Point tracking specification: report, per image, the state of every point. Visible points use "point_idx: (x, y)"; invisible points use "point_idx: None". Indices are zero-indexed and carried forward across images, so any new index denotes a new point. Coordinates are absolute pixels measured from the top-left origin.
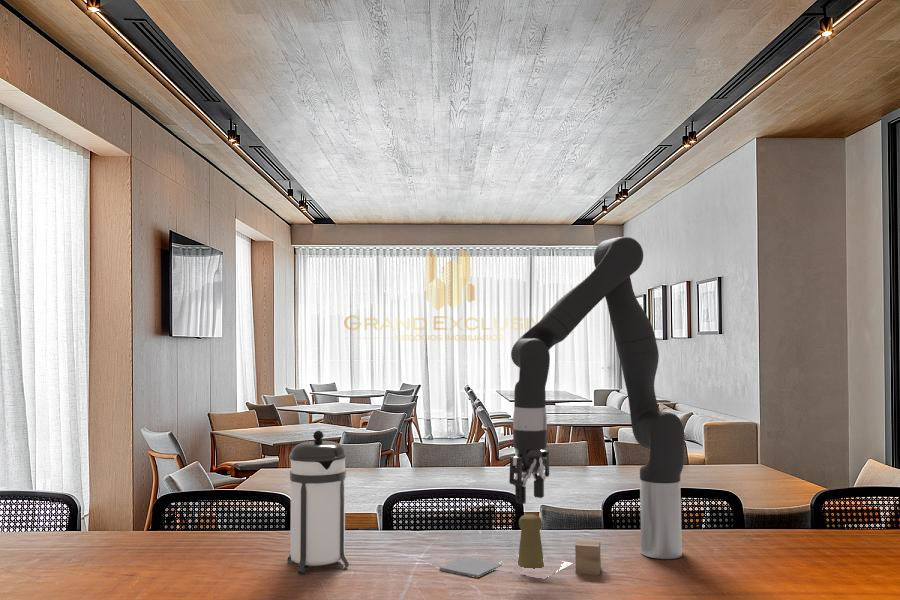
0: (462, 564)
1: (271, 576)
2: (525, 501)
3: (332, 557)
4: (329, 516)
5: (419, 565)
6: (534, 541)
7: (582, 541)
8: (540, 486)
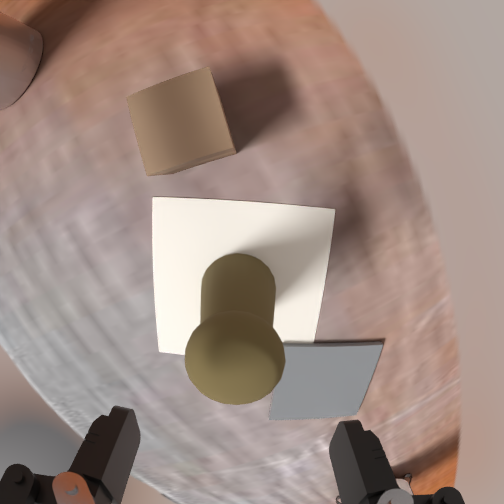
0: (323, 400)
1: (415, 479)
2: (347, 425)
3: (398, 482)
4: None
5: None
6: (262, 302)
7: (168, 144)
8: (116, 462)
